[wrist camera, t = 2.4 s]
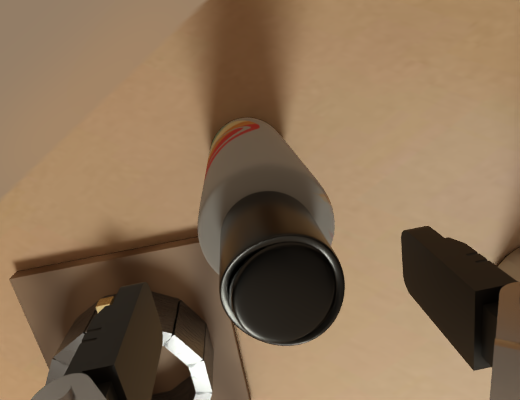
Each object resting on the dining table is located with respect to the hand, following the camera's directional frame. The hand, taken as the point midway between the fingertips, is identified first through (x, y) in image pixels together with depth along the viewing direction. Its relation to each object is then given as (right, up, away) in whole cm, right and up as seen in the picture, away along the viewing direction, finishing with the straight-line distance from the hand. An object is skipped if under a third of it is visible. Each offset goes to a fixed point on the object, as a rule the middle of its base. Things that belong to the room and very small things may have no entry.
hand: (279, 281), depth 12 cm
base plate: (-11, -10, +22) cm, 27 cm away
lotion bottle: (-2, +6, +18) cm, 19 cm away
